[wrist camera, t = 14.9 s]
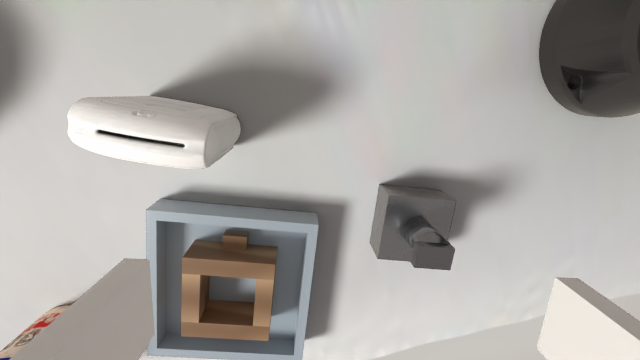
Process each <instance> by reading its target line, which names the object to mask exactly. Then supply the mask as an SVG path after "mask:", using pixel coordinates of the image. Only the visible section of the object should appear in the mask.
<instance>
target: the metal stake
mask: <svg viewBox="0 0 640 360" xmlns="http://www.w3.org/2000/svg"><path fill="white" fill-rule="evenodd" d="M455 205H456V201H455V200H453V199H452V198H450V197H449V196H448V195H446V194H445V193H443V192H442V191H440V190H432V189H422V188H412V187H402V186H391V185H381V184H379V189H378V195H377V201H376V207H375V213H374V219H373V226H372V232H371V238H370V244H371V246H372V248H373V250H374V252H375V255H376V257H377V259H386V260H398V261H410V262H411V263H412V265H413V266H414V267H415V268H428V269H441V270H450V268H451V264H452V260H453V256H454V252H455V248H454V247H453V246H452V245H451V244H450V243H449V242H448V241H447V240H448V235H449V231H450V227H451V222H452V218H453V213H454V209H455Z"/></svg>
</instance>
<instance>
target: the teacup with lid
mask: <svg viewBox="0 0 640 360" xmlns="http://www.w3.org/2000/svg"><path fill="white" fill-rule="evenodd" d="M69 307H70V305H69V306H60V307H57V308H54V309H51V310H49V311H48V312H46V313H45V314H43V315H42V316H41V317H40V318H39V319H38V320H36V321H35V322H34V323H33V324H32V325H31V326H29V327H28V328H27V329H26V330H25V331H24V332H22V333H21V334H20V335H19V336H18V337H17V338H16V339H14V340H13V341H12V342H11V343H10V344H9V345H7V346H6V347H5V348H4V349H3V350H2V351H0V360H9V359H11V358H12V357H13V356H14V355H15V354H16V353H17V352H19V351H20V350H21V349H22V348H23V347H24V346H25V345H27V344H28V343H29V342H30V341H31V340H32V339H33V338H35V337H36V336H37V335H38V334H39V333H40V332H41V331H42V330H44V329H45V328H46V327H47V326H48V325H49V324H50V323H52V322H53V321H54V320H55V319H56V318H57V317H58V316H60V315H61V314H62V313H63V312H64V311H65V310H66V309H67V308H69Z"/></svg>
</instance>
